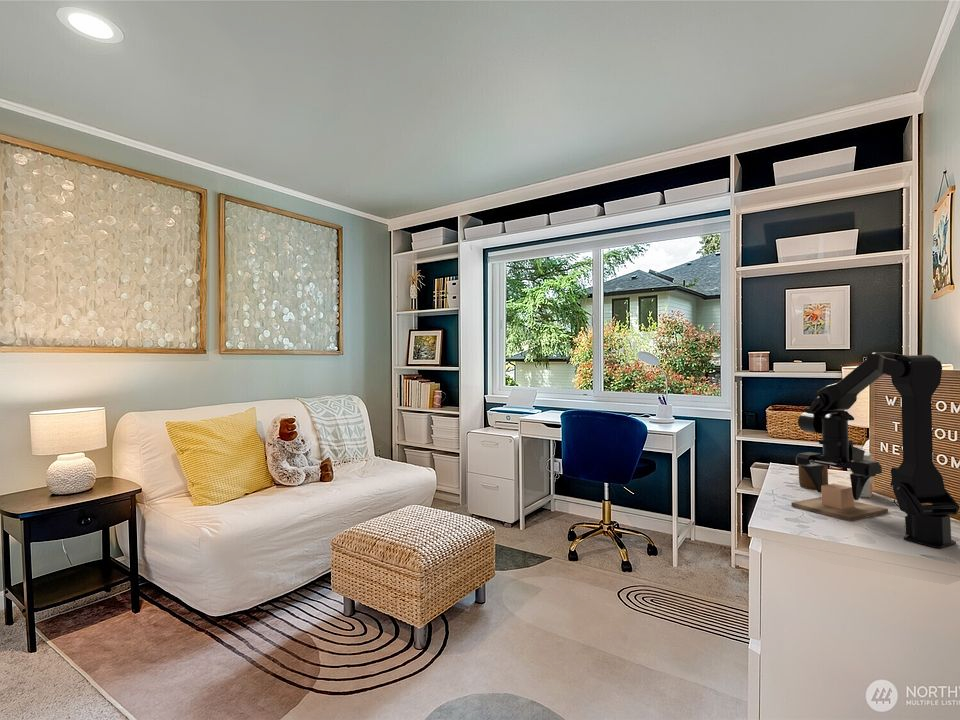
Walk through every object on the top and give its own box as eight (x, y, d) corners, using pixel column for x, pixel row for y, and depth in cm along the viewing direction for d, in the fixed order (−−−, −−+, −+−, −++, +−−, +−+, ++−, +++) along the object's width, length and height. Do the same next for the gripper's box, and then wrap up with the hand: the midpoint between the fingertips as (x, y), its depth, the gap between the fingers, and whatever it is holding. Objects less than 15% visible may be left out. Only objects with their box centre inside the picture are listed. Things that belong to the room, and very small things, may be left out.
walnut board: (888, 512, 129) (887, 508, 129) (849, 521, 124) (849, 516, 124) (828, 499, 143) (828, 495, 143) (791, 506, 138) (791, 502, 138)
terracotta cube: (854, 506, 132) (853, 487, 132) (841, 509, 130) (840, 489, 130) (834, 502, 137) (833, 483, 137) (822, 504, 135) (821, 485, 135)
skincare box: (870, 498, 143) (868, 455, 143) (852, 496, 146) (850, 454, 146) (873, 493, 147) (871, 452, 148) (855, 491, 150) (853, 451, 150)
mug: (836, 494, 148) (835, 461, 149) (806, 492, 151) (805, 461, 151) (824, 484, 160) (823, 454, 160) (796, 483, 162) (795, 454, 162)
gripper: (894, 438, 128) (897, 500, 128) (820, 430, 146) (822, 485, 145) (865, 441, 124) (868, 506, 124) (793, 433, 141) (795, 490, 141)
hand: (837, 496), depth 134 cm, fingers open, 9 cm apart
